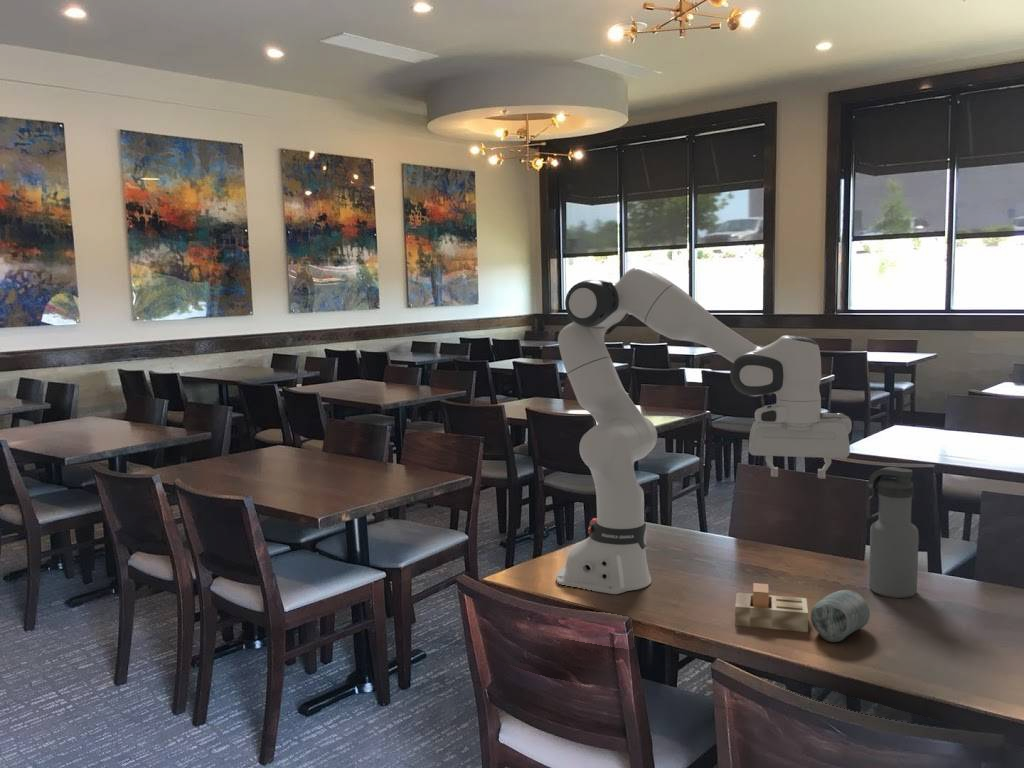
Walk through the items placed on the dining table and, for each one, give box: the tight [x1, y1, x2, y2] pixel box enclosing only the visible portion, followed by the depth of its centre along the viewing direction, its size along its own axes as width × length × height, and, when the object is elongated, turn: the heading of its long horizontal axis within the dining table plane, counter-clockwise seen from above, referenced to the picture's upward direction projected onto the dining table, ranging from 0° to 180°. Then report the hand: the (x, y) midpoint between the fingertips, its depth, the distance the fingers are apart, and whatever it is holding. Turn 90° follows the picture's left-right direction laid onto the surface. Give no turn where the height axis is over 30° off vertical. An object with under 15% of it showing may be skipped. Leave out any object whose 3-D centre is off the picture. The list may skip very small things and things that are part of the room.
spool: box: [810, 589, 871, 643], centre depth 159 cm, size 14×10×10 cm
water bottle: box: [866, 466, 920, 599], centre depth 180 cm, size 10×10×28 cm
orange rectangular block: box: [752, 582, 770, 608], centre depth 167 cm, size 3×5×7 cm, turn 163°
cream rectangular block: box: [734, 592, 809, 633], centre depth 166 cm, size 14×8×4 cm, turn 72°
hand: (797, 477), depth 171 cm, fingers open, 8 cm apart
